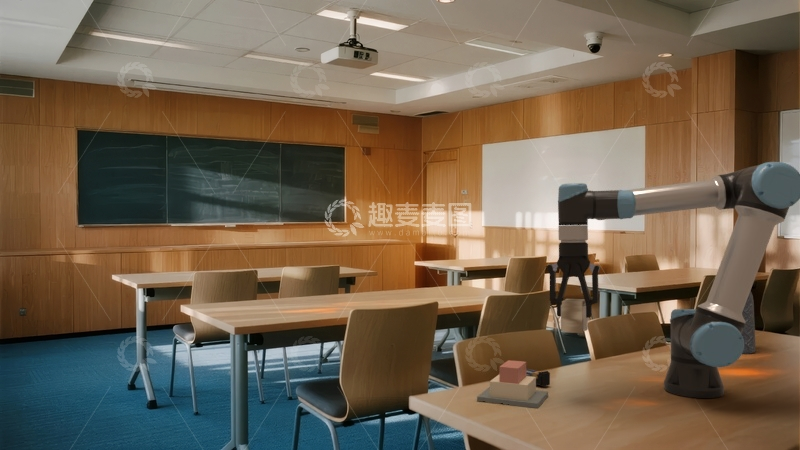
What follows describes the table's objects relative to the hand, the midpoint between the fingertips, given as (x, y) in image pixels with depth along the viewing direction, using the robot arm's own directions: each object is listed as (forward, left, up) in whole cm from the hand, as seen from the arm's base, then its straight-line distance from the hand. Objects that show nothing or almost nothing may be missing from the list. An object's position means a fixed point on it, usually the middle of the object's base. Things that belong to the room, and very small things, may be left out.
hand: (574, 329), depth 168 cm
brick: (0, 0, 0) cm, 0 cm away
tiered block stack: (+15, +5, -19) cm, 25 cm away
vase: (-44, -94, -19) cm, 105 cm away
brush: (+16, -14, -19) cm, 28 cm away
